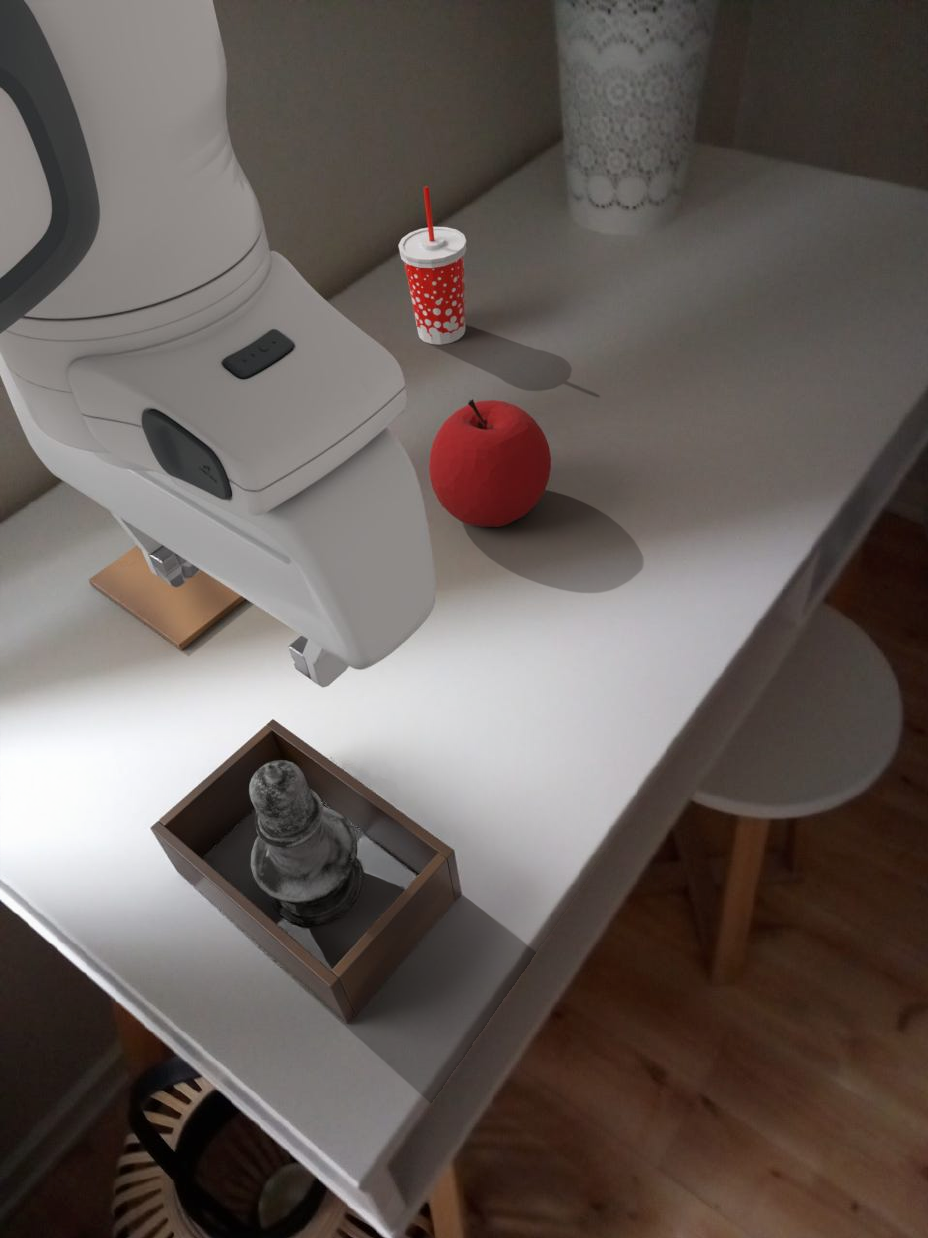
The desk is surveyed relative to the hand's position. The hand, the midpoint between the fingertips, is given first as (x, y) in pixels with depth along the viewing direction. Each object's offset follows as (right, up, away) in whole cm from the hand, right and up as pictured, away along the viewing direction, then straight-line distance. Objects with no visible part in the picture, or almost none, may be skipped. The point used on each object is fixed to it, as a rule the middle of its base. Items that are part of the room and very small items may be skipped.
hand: (248, 619), depth 42 cm
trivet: (-11, +4, +32) cm, 34 cm away
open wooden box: (+1, -15, +14) cm, 21 cm away
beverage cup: (+7, +28, +52) cm, 60 cm away
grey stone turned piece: (+1, -15, +14) cm, 21 cm away
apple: (+11, +9, +35) cm, 38 cm away
